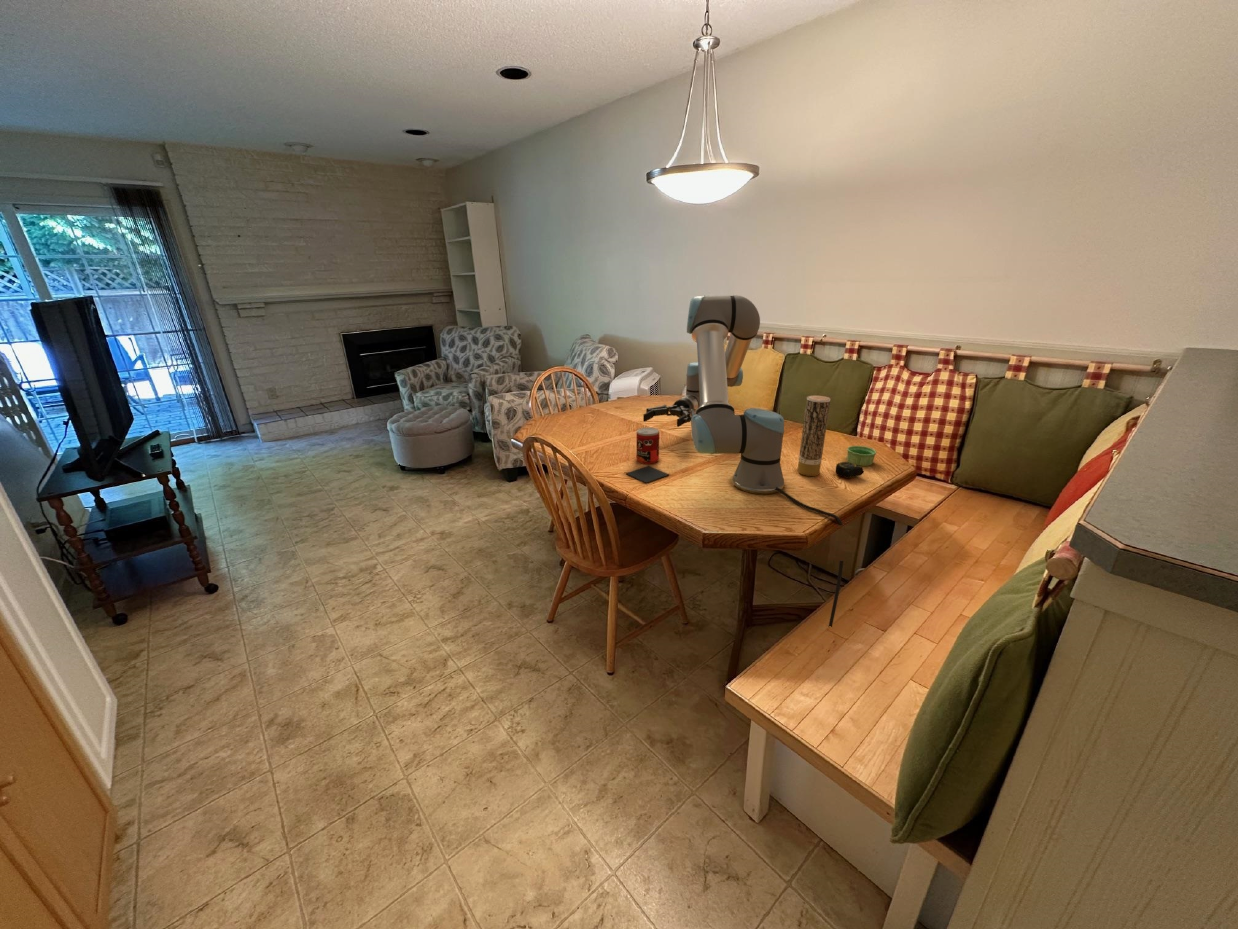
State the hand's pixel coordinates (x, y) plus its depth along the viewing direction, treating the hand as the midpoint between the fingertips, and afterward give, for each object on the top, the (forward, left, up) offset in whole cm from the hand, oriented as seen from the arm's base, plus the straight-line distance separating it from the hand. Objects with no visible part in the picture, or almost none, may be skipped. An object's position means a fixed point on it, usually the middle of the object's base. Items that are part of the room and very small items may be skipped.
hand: (660, 420), depth 173 cm
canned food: (-3, +9, -12) cm, 16 cm away
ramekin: (-52, -45, -12) cm, 70 cm away
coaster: (-13, +18, -12) cm, 26 cm away
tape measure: (-56, -30, -12) cm, 65 cm away
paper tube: (-46, -23, -12) cm, 53 cm away
